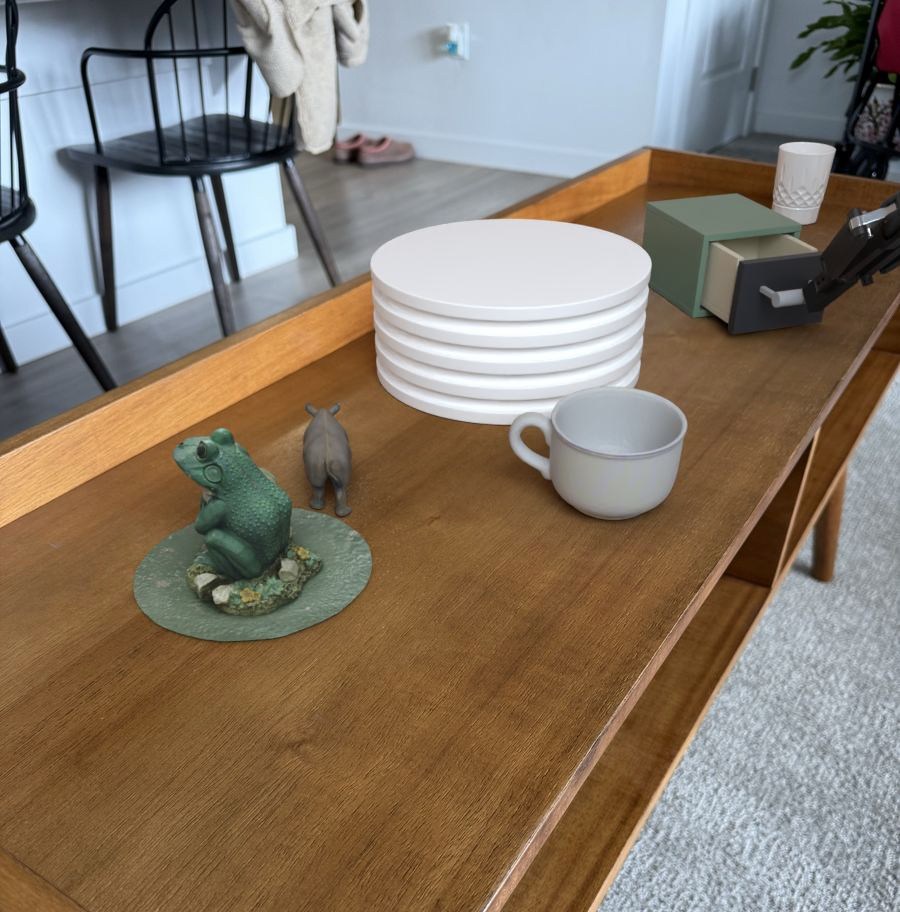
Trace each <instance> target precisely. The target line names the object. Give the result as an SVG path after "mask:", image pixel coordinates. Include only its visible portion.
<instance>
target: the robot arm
mask: <svg viewBox="0 0 900 912" xmlns="http://www.w3.org/2000/svg"><path fill="white" fill-rule="evenodd" d="M823 251H824V252H823V253H822V254H821V256H820V257H819V258H820V262H821V265H822V269H823V271H822V272H821V273H820V274H819V275H818V276H817V277H815V278H814V279H813V280H812V281H811V282H810V283H808V284H807V285H806V286H805V287H804V288H803V289H802V291H803V295H804V298H805V302H806V306H807V309H808V313H812V312H819V311H822V310H823V309H824V308H825V309H826V308H827V307H828V306H830V305H831V304H832V303H834V302H835V301H836V300H837V299H838V298H840V297H841V296H842V295H844V294H845V293H846V292H848V290H850V289H851V288H852V287H854V286H855V285H856V284H858V283H859V281H860V282H861V286H862V287H868V286H871V285H873V284H874V283H875V282H874V278H873V276H874V275H875V274H877V272H879V275H886V274H889V273H890V272H892V271H894V270H895V269H896V268H899V267H900V189H899V190H898V191H896V192H894V193H892V194H891V195H890V196H888V197H887V198H885V199H883V201H882V202H881V203H880V204H879V207H878V208H877V209H876V210H872V211H869V212H867V211H866V210H862V207H854V208H852V209H850V210H848V211H847V212H846V220H845V223H843V225H842V226H841V228H840V229H839V230H838V232H837V233H836V235H834V237H833V238H832V240H831V241H830V242H829V244H828V245H827V246H826V248H825V249H824V250H823ZM825 309H824V310H825Z"/></svg>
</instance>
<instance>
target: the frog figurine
mask: <svg viewBox="0 0 900 912" xmlns="http://www.w3.org/2000/svg"><path fill="white" fill-rule="evenodd" d="M171 456H172V458H173V460H174V462H175V463H176V466H177V467H178V468H179V470H181V472H183V474H184V475H186V477H188V478H189V479H190V480H192V481H193V482H194V483H195V484H197V486H199V487H200V488H201V490H202V495H201V496H200V498H199V512H198V514H197V515H196V518H195V520H194V522H192V523H190V524H187V525H185V526H184V527H183V528H180V529H178V530H177V531H174V532H172V533H170V534H169V535H168V536H166V537H165V538H164V539H162V540H161V541H159V542H157V544H155V545H154V546H153V547H152V548H151V549H150V550H149V551H148V552H147V553H146V555H145V556H144V557H143V558H142V559H141V562H140V564H139V565H138V566H137V567H136V570H135V574H134V577H133V582H132V589H133V590H132V591H133V597H134V599H135V601H136V603H137V606H138V607H139V608H140V610H141V611H142V612H143V613H144V614H145V616H147V617H148V618H150V620H151V621H153V622H154V623H155V624H157V625H158V626H160V627H161V628H164V629H166V630H169V631H172V632H175V633H177V634H180V635H184V636H187V637H192V638H197V639H201V640H208V641H215V642H239V641H241V642H242V641H243V642H244V641H258V640H270V639H277V638H280V637H284V636H288V635H291V634H294V633H296V632H299V631H301V630H304V629H307V628H310V627H312V626H315V625H316V624H318V623H321V622H323V621H325V620H327V619H329V618H331V617H333V616H335V615H337V614H338V613H340V612H342V611H343V610H344V609H345V608H346V607H347V606H348V605H350V604H351V603H352V602H353V601H354V600H355V599H356V598H357V597H358V596H359V595H360V594H361V592H362V591H363V590H364V589H365V587H366V585H368V582H369V580H370V577H371V576H372V575H371V574H372V571H373V557H372V556H373V555H372V552H371V548H370V546H369V544H368V542H367V541H366V539H365V538H364V537H363V535H362V534H361V533H360V532H358V531H356V529H354V528H353V527H351V526H349V525H348V524H346V523H345V522H344V521H342V520H340V519H339V518H335V517H333V516H331V515H328V514H326V513H321V512H317V511H314V510H309V509H304V508H300V507H299V508H298V507H293V505H292V504H293V500H292V499H291V497H290V495H289V494H288V493H287V492H286V490H284V489H283V488H282V487H281V486H279V485H277V483H278V481H277V478H276V476H275V475H274V473H272V472H271V471H269V470H268V469H266V468H264V467H262V466H258V465H257V464H256V463H255V462H254V460H252V458H251V456H250V454H249V452H248V451H247V449H246V448H245V447H243V446H242V445H241V444H239V443H238V442H236V441H235V436H234V434H233V433H232V432H231V431H230V430H228V429H227V428H224V427H219V428H218V427H217V428H216V429H214V430H213V431H212V433H210V435H208V436H207V435H205V436H204V435H202V436H191V437H187V438H185V439H184V440H183V441H182V442H179V443H178V444H177V445H176V446H175V448H173V451H172V455H171Z"/></svg>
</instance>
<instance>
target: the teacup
mask: <svg viewBox="0 0 900 912" xmlns="http://www.w3.org/2000/svg"><path fill="white" fill-rule="evenodd" d="M528 427H534V428H537V429H539V430H540V432H541V433H542V434H543V436H544V440H545V443H546V445H547V446H548V447H549V458H548V457H545V456H542V455H540V454H538V453H536V452H535V451H533V450H532V449H530V448H529V447H528V446H527V445H526V444H525V443H524V442H523V440H522V437H521V434H522V431H523V430H524V429H525V428H528ZM687 430H688V420H687V417H686V415H685V413H684V412H683V411H682V409H680V407H679V406H677V405H676V404H675V403H673V402H672V401H671V400H670V399H667V398H665V397H663V396H660V395H658V394H656V393H654V392H650V391H648V390H643V389H642V390H641V389H639V388H635V387H634V388H628V387H616V386H610V387H593V388H588V389H583V390H580V391H576V392H574V393H571V394H569V395H567V396H566V397H564V398H562V399H561V400H560V401H559V402H558V403H557V404H556V406H555V407H554V409H553V411H552V414H551V419H549V418H548V417H547V416H545V415H543V414H541V413H537V412H526V413H523V414H521V415H519V416H518V417H517V418H516V419H515V420H514V421H513V423H512V424H511V425H509V429H508V442H509V445H510V448H511V449H512V451H513V453H514V454H515V456H516V457H518V458H519V460H521V461H522V462H524V463H525V464H527V465H529V466H530V467H532V468H534V469H535V470H537V471H538V472H540V473H541V475H542V477H543V478H544V479H545V480H549V481H551V482H552V485H553V487H554V489H555V490H556V491H555V492H557V494H558V495H559V496H560V498H561V499H562V500H564V501H565V502H566V503H568V504H569V505H570V506H572V507H573V508H574V509H576V510H577V511H579V512H581V514H582V513H583V514H584V515H587V516H589V517H593V518H595V519H601V520H608V521H620V520H621V521H622V520H627V519H631V518H635V517H637V516H639V515H642V514H644V513H647V512H649V511H651V510H653V509H655V508H657V507H658V506H659V505H660V504H661V503H662V502H664V501H665V500H666V498H667V497H668V496H669V495H670V493H671V491H672V490H673V487H674V484H675V482H676V479H677V476H678V475H677V474H678V471H679V466H680V462H681V457H682V451H683V444H684V438H685V436H686V433H687Z"/></svg>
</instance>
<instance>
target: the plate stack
mask: <svg viewBox="0 0 900 912" xmlns="http://www.w3.org/2000/svg"><path fill="white" fill-rule="evenodd" d="M369 265H370V278H371V281H372V285H371V299H372V305H373V307H374V308H373V327H374V331H375V333H374V344H375V345H374V346H375V354H376V357H375V358H376V360H375V361H376V364H375V365H376V374H377V378H378V381H379V382H380V385H382V387H383V389H385V391H386V392H387V393H388V394H389V395H391V396H392V397H394V398H395V399H397V400H398V401H399V402H401V403H403V404H405V405H406V406H409V407H411V408H413V409H415V410H418V411H421V412H423V413H427V414H429V415H433V416H436V417H440V418H445V419H448V420H454V421H458V422H459V421H460V422H465V423H471V424H472V423H473V424H481V425H493V426H494V425H497V426H511V424H512V423H513V421H514V420H515V419H516V418H517V417H518V416H519V415H521V414H523V413H526V412H537V413H541V414H543V415H545V416H547V417H548V418H549V419H551V414H552V411H553V409H554V407H555V406H556V404H557V403H558V402H559V401H560V400H561V399H562V398H564V397H566V396H567V395H569V394H571V393H574V392H576V391H580V390H583V389H588V388H593V387H610V386H616V387H628V388H635V387H636V386H637V383H638V381H639V379H640V372H641V364H642V363H641V357H642V355H643V354H642V353H643V348H644V347H643V346H644V333H645V328H646V320H647V313H646V312H647V311H646V309H647V306H648V301H649V292H650V287H649V286H648V283H649V281H650V276H651V267H652V262H651V259H650V257H649V255H648V253H647V252H646V251H645V250H644V249H643V248H642V246H640V245H639V244H637V243H636V242H634V241H632V240H631V239H628V238H626V237H624V236H622V235H619V234H616V233H614V232H611V231H608V230H604V229H601V228H597V227H593V226H588V225H584V224H579V223H571V222H566V221H565V222H564V221H556V220H547V219H534V218H533V219H532V218H489V219H487V218H486V219H473V220H464V221H463V220H461V221H454V222H448V223H442V224H441V223H440V224H436V225H431V226H427V227H423V228H419V229H415V230H412V231H409V232H407V233H403V234H400V235H399V236H396V237H394V238H392V239H390V240H388V241H386V242H384V243H383V244H382V245H380V246H379V247H378V248H377V249H376V250H375V251H374V253H373V254H372V256H371V258H370V263H369Z"/></svg>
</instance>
